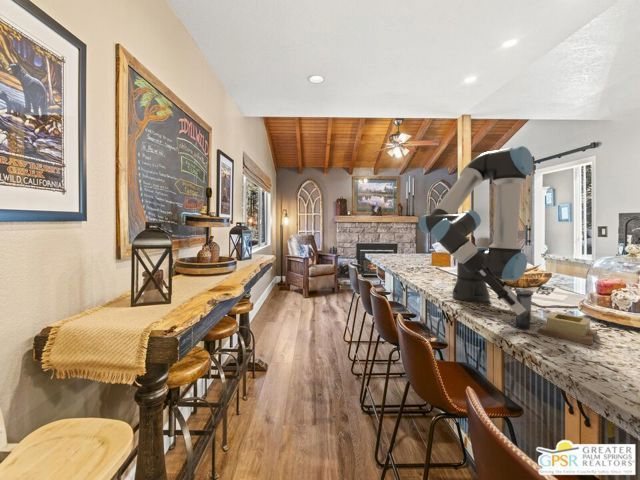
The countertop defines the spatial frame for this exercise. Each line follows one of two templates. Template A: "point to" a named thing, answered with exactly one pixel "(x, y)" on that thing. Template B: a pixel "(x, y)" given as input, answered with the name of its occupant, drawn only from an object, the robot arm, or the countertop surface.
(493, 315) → the countertop surface
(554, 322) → the square socket frame
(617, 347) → the countertop surface
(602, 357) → the countertop surface
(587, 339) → the socket base
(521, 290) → the pin
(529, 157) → the robot arm
